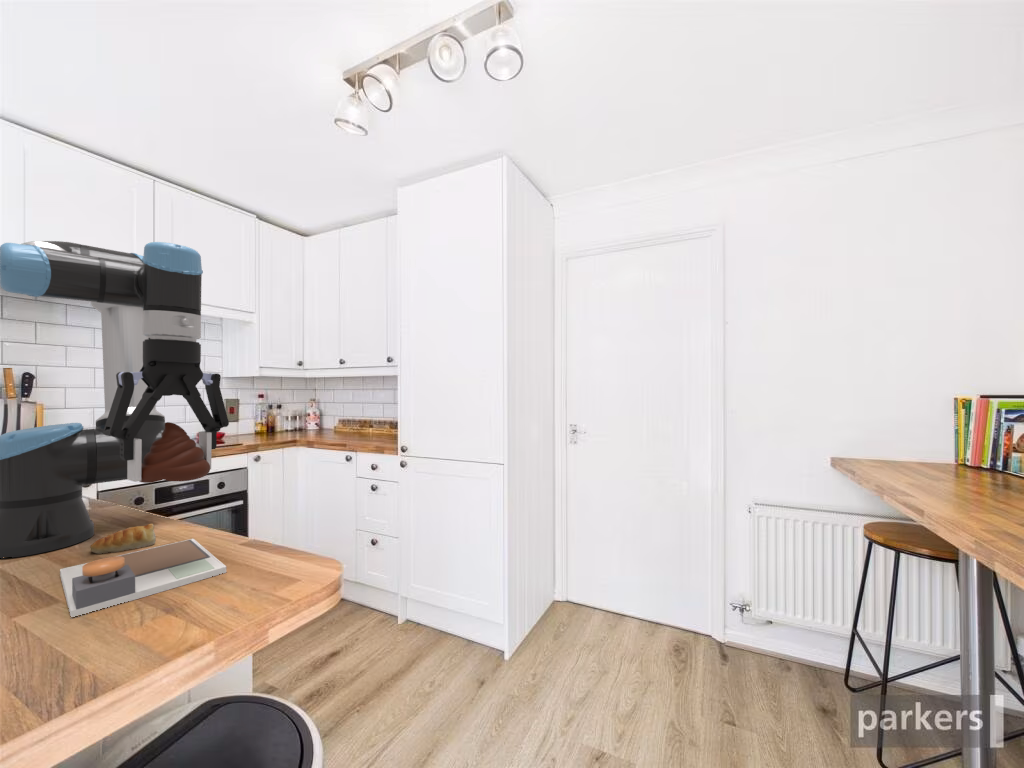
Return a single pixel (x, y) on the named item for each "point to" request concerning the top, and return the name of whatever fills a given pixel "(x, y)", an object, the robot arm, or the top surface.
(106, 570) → the button
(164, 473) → the poop emoji
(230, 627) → the top surface
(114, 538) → the pastry
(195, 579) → the picture board
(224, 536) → the top surface
